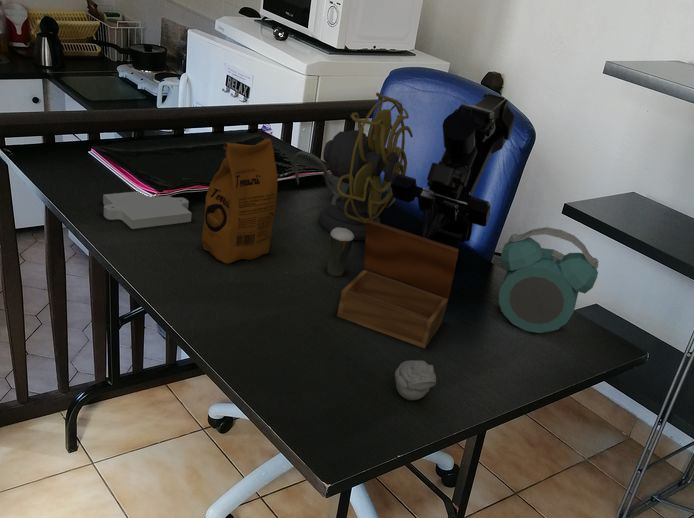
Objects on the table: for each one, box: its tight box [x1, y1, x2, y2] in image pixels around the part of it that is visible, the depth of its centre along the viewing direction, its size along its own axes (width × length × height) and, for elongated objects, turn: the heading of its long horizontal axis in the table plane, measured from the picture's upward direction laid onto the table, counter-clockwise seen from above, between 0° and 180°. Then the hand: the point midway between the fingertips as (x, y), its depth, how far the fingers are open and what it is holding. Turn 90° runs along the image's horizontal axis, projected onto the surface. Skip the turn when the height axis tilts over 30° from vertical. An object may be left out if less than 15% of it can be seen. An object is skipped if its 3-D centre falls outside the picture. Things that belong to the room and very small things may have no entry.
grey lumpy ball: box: [394, 359, 437, 401], centre depth 114 cm, size 6×7×7 cm
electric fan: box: [292, 92, 414, 241], centre depth 165 cm, size 26×32×30 cm
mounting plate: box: [102, 190, 193, 230], centre depth 155 cm, size 18×13×2 cm
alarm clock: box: [498, 226, 599, 334], centre depth 140 cm, size 17×10×20 cm, turn 71°
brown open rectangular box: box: [336, 269, 449, 349], centre depth 134 cm, size 11×17×5 cm, turn 68°
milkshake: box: [326, 228, 360, 277], centre depth 146 cm, size 4×5×10 cm
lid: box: [363, 219, 460, 299], centre depth 133 cm, size 11×17×1 cm
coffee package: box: [200, 138, 279, 264], centre depth 142 cm, size 10×12×22 cm
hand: (423, 240), depth 139 cm, fingers closed
